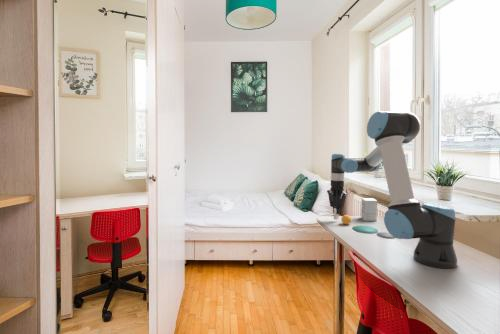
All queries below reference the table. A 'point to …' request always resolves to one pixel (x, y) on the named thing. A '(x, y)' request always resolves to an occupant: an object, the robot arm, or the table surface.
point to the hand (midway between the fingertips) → (336, 218)
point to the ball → (346, 219)
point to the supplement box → (369, 209)
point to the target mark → (365, 229)
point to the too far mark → (385, 235)
